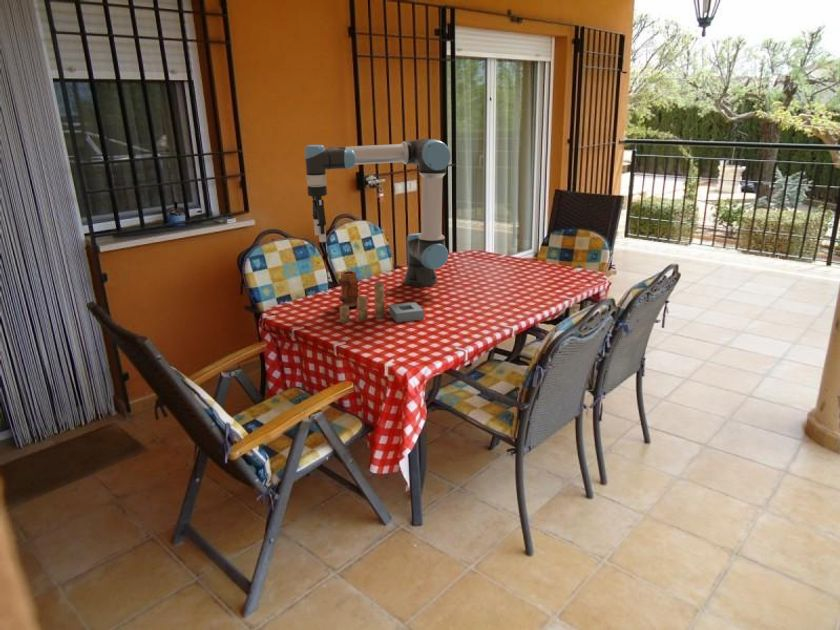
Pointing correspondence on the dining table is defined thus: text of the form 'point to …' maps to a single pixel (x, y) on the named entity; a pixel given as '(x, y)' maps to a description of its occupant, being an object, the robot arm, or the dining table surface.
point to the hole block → (406, 312)
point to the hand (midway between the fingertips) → (320, 238)
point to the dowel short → (344, 314)
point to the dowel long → (379, 300)
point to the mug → (349, 288)
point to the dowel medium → (362, 308)
